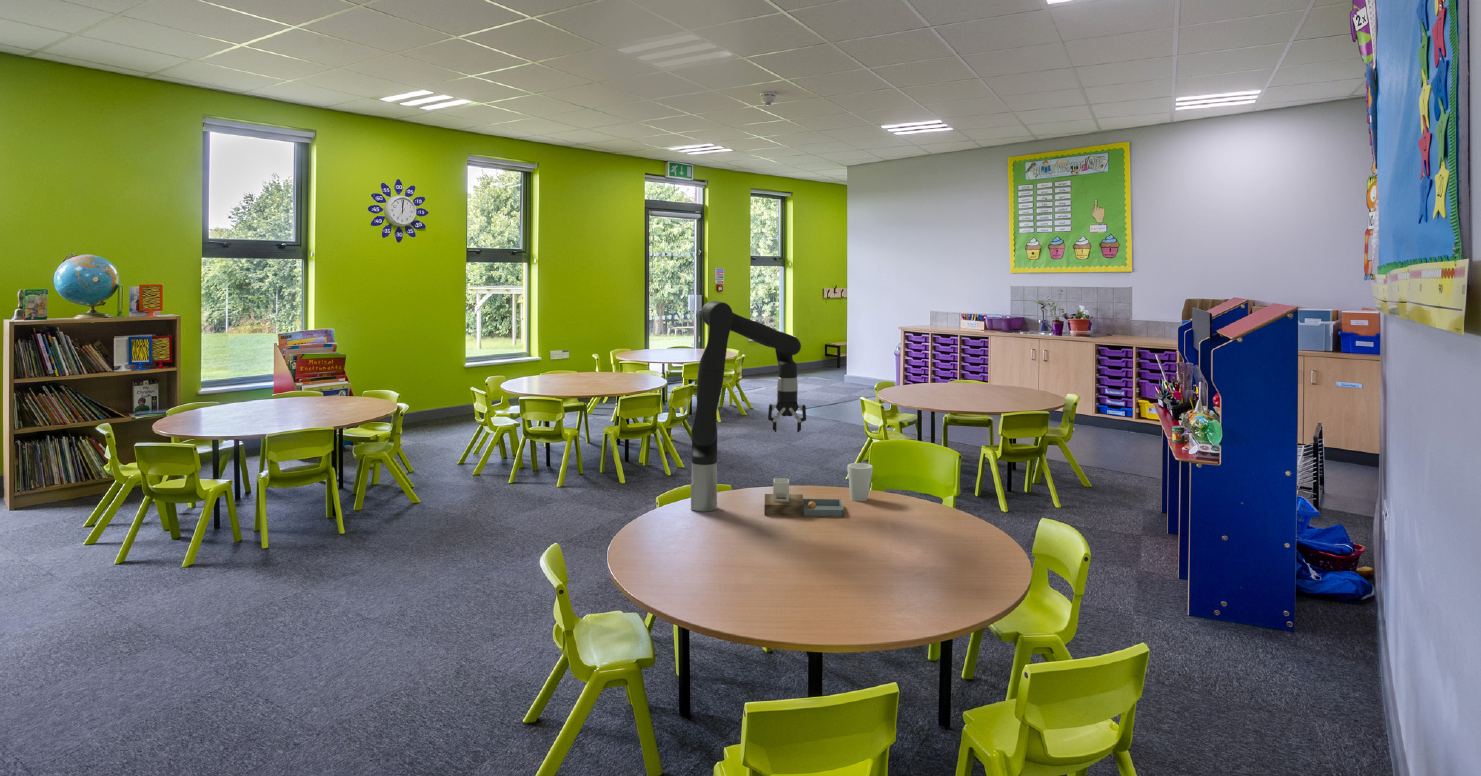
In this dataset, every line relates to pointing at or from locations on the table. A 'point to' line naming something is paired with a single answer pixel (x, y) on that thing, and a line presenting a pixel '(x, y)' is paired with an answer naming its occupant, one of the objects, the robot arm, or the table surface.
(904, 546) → the table surface
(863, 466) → the foam cup
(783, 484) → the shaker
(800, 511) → the platform
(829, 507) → the tray
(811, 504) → the ball
